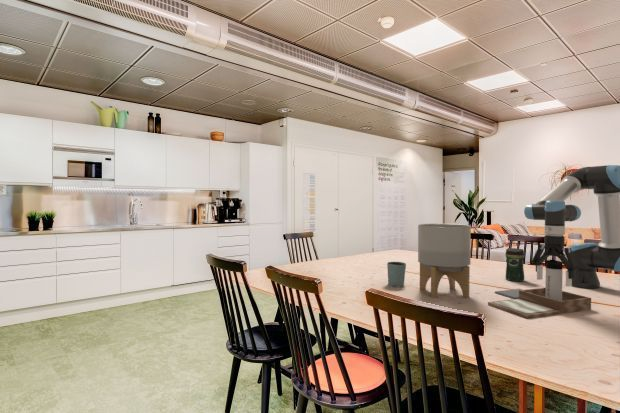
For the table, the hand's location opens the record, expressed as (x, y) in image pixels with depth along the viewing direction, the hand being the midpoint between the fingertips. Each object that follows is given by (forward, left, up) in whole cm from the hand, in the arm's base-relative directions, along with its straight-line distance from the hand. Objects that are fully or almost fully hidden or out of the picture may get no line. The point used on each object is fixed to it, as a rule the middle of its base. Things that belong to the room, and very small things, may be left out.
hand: (553, 282), depth 164 cm
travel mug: (0, 0, -10) cm, 10 cm away
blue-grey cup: (+45, -57, -10) cm, 73 cm away
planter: (+32, -34, -10) cm, 48 cm away
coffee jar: (-26, -44, -10) cm, 52 cm away
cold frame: (+9, 0, -10) cm, 14 cm away
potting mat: (0, -19, -10) cm, 22 cm away
